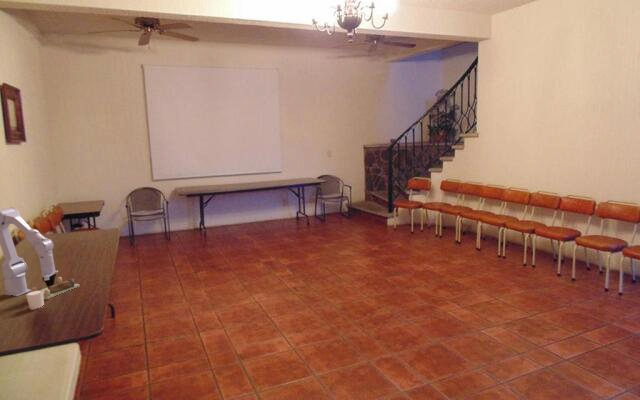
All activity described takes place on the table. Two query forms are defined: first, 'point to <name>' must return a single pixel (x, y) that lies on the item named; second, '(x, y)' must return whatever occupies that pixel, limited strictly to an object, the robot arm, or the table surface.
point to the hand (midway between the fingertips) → (51, 289)
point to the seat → (48, 295)
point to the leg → (61, 285)
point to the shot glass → (35, 299)
